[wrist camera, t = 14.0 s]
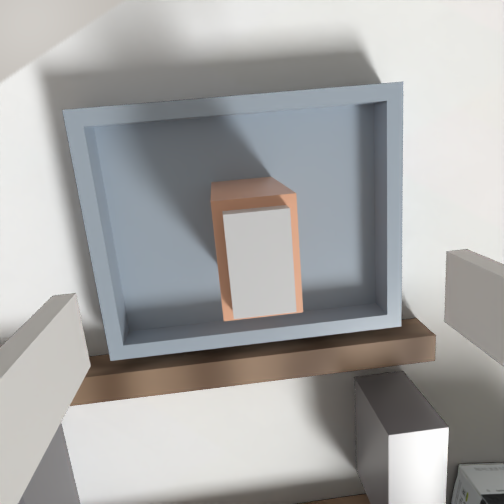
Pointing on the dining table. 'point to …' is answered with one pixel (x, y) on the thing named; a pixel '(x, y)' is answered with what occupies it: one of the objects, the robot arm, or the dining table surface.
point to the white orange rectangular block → (257, 248)
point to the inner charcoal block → (53, 476)
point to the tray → (200, 215)
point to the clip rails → (257, 366)
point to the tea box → (479, 484)
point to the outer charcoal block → (399, 442)
